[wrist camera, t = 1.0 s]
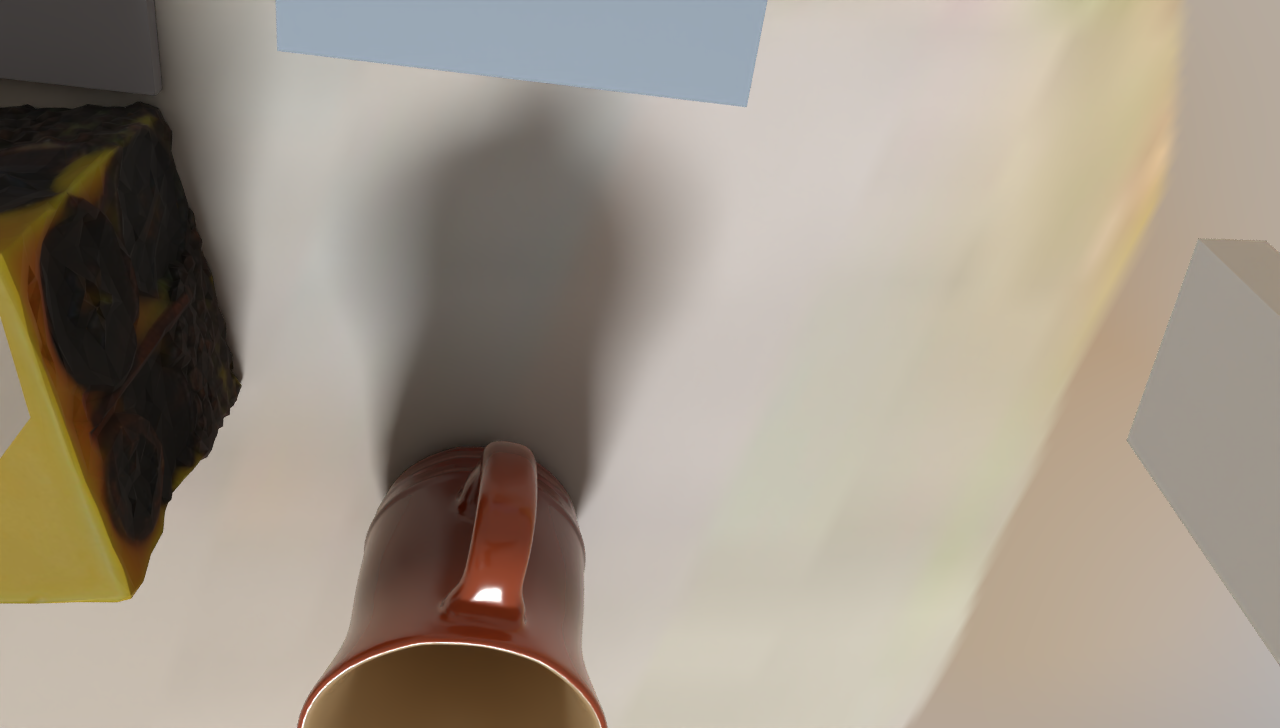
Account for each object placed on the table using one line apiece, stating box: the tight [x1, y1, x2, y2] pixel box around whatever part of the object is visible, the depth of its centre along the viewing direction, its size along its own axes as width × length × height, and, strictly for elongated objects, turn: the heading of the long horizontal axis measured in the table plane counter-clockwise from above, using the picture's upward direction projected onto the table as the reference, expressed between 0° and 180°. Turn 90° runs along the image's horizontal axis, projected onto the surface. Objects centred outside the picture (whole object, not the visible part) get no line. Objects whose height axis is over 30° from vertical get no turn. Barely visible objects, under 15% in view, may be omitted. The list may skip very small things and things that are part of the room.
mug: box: [297, 441, 608, 728], centre depth 35 cm, size 12×9×10 cm
